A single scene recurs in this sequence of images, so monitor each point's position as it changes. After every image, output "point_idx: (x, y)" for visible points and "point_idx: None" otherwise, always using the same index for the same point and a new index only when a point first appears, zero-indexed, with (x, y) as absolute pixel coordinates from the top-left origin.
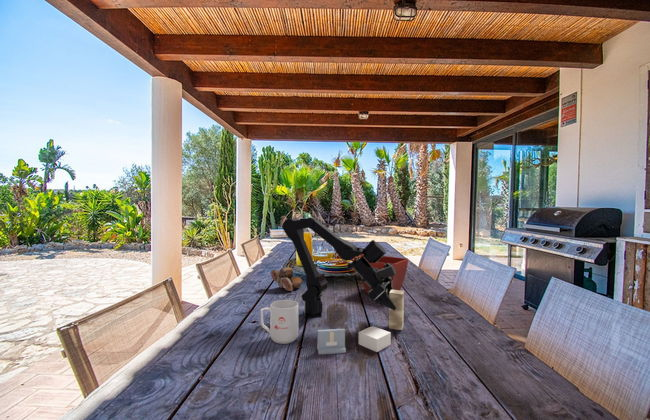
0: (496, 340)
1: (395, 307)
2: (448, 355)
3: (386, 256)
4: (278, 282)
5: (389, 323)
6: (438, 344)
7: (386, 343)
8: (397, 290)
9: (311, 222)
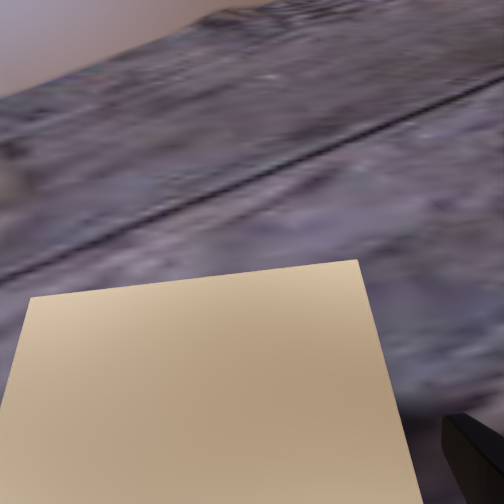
0: (217, 47)
1: (480, 422)
2: (471, 133)
3: None
4: None
5: None
6: (385, 176)
7: None
8: (20, 489)
9: None
